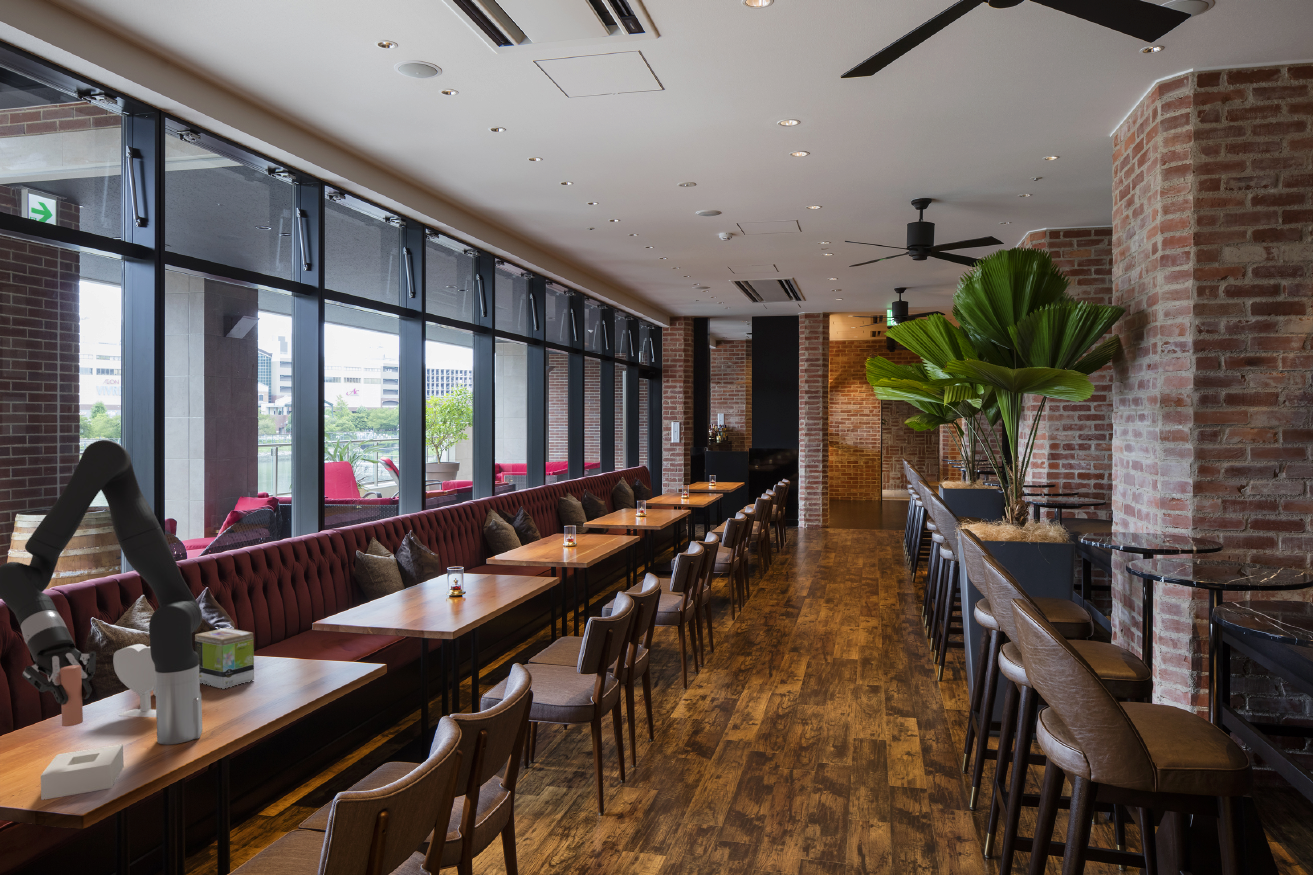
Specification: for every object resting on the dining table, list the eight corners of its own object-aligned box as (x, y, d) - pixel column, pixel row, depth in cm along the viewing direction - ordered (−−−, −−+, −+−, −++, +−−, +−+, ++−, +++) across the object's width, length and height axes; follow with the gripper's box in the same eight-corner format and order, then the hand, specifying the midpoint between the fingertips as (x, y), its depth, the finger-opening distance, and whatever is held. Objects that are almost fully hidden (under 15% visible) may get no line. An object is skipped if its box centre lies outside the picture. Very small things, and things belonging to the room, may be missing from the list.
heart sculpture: (178, 710, 214) (176, 643, 214) (164, 717, 209) (162, 648, 209) (127, 708, 217) (125, 642, 217) (112, 715, 212) (110, 647, 212)
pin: (83, 718, 173) (81, 663, 173) (82, 723, 170) (80, 667, 170) (62, 722, 171) (60, 667, 171) (61, 727, 168) (59, 671, 168)
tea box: (255, 680, 239) (254, 631, 239) (222, 690, 231) (221, 639, 231) (227, 673, 247) (226, 626, 247) (194, 682, 239) (193, 633, 239)
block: (123, 766, 178) (122, 744, 178) (111, 787, 167) (110, 764, 167) (58, 776, 173) (57, 754, 173) (41, 799, 162) (40, 775, 162)
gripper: (13, 633, 168) (43, 698, 162) (88, 618, 181) (118, 679, 175) (3, 655, 171) (32, 720, 165) (77, 639, 183) (107, 699, 177)
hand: (76, 698), depth 170 cm, fingers closed on pin, 3 cm apart
